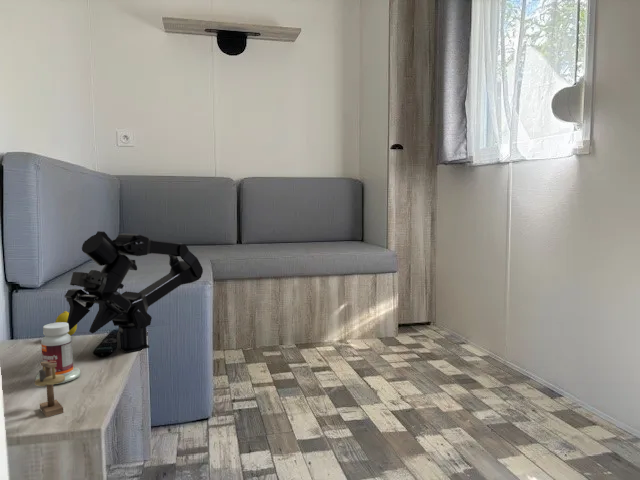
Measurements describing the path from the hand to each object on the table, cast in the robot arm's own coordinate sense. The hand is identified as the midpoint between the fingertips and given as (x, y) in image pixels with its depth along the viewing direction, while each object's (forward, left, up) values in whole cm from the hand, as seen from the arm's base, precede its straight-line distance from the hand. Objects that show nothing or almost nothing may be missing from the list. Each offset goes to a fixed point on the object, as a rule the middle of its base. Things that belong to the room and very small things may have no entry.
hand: (79, 331), depth 123 cm
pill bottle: (+6, +4, -8) cm, 11 cm away
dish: (+6, +4, -9) cm, 11 cm away
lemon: (-4, -27, -9) cm, 29 cm away
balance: (+11, +21, -9) cm, 25 cm away
